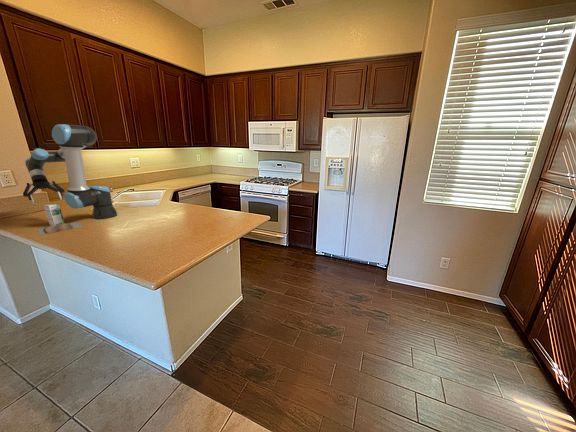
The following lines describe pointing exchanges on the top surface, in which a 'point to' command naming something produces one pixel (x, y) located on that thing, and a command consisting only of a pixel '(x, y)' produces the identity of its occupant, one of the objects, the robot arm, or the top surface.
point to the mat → (74, 225)
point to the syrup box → (54, 214)
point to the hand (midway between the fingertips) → (48, 201)
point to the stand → (58, 228)
